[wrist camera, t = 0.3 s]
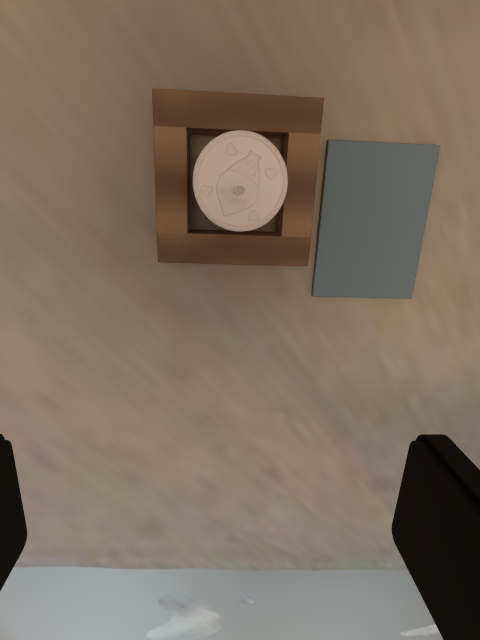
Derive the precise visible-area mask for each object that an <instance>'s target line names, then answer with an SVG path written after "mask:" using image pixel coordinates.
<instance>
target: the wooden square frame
mask: <svg viewBox="0 0 480 640" xmlns="http://www.w3.org/2000/svg"><path fill="white" fill-rule="evenodd" d="M152 95H153V125H154V155H155V185H156V215H157V245H158V262H166V263H204V264H241V265H279V266H308V260H309V249H310V239H311V228H312V218H313V207H314V197H315V186H316V176H317V165H318V155H319V144H320V134H321V123H322V113H323V102H324V98H314V97H296V96H278V95H260V94H242V93H224V92H206V91H188V90H170V89H152ZM235 130H245V131H251V132H254V133H257V134H259V135H261V136H263V137H265V138H280V139H282V145H281V156H282V158H283V160H284V162H285V166H286V169H287V176H288V186H287V193H286V196H285V199H284V202H283V204H282V206H281V208H280V209H279V211H278V212H277V221H276V232H252V231H242V232H239V231H221V230H190V134H197V135H218V136H219V135H221V134H224V133H226V132H230V131H235Z"/></svg>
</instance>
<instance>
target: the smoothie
mask: <svg viewBox="0 0 480 640" xmlns="http://www.w3.org/2000/svg"><path fill="white" fill-rule="evenodd" d="M287 186H288V176H287V169H286V166H285V162H284V160H283V158H282V156H281V154H280V152H279V151H278V149H277V148H276V147H275V146H274V145H273V144H272V143H271V142H270V141H269V140H268V139H266V138H265V137H263V136H261V135H259V134H257V133H254V132H251V131H245V130H235V131H230V132H226V133H224V134H221V135H219V136H217V137H216V138H214V139H213V140H212V141H210V142H209V143H208V144H207V145H206V146H205V148H204V149H203V150H202V152H201V153H200V155H199V157H198V159H197V161H196V164H195V167H194V171H193V189H194V194H195V198H196V200H197V203H198V205H199V207H200V209H201V210H202V211H203V213H204V214H205V215H206V216H207V218H208V219H209V220H211V221H212V222H213V223H215V224H216V225H218V226H220V227H222V228H224V229H227V230H231V231H239V232H242V231H250V230H254V229H256V228H259V227H261V226H263V225H264V224H266V223H267V222H269V221H270V220H271V219H272V218H273V217H274V216H275V215H276V214H277V212H278V211H279V209H280V208H281V206H282V204H283V202H284V199H285V196H286V193H287Z"/></svg>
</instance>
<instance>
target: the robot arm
mask: <svg viewBox="0 0 480 640" xmlns="http://www.w3.org/2000/svg"><path fill="white" fill-rule="evenodd" d="M392 535H393V539H394V542H395V544H396V546H397V548H398V550H399V552H400V554H401V556H402V558H403V560H404V562H405V564H406V566H407V568H408V570H409V572H410V574H411V576H412V578H413V580H414V582H415V584H416V586H417V588H418V590H419V592H420V594H421V596H422V598H423V600H424V602H425V604H426V606H427V608H428V610H429V612H430V614H431V616H432V618H433V620H434V622H435V624H436V626H437V628H438V630H439V632H440V633H441V635H442V637H443V639H444V640H480V470H479V469H478V468H477V467H476V466H475V465H474V464H473V463H472V462H471V460H470V459H469V458H468V457H467V456H466V455H465V454H464V453H463V452H462V451H461V450H460V449H459V448H458V447H457V446H456V445H455V444H454V442H453V441H452V440H451V439H450V438H449V437H447V436H446V435H419V436H418V437H417V439H416V441H412V442H411V443H410V446H409V450H408V455H407V459H406V464H405V469H404V473H403V478H402V482H401V487H400V491H399V496H398V500H397V505H396V509H395V514H394V519H393V523H392ZM26 539H27V528H26V522H25V516H24V511H23V505H22V500H21V494H20V488H19V483H18V477H17V472H16V466H15V460H14V455H13V449H12V445H11V442H10V441H8V440H5V439H4V437H3V435H2V434H0V591H1V589H2V587H3V585H4V583H5V581H6V580H7V578H8V576H9V574H10V572H11V570H12V569H13V567H14V565H15V563H16V561H17V560H18V558H19V556H20V554H21V552H22V550H23V548H24V546H25V543H26Z"/></svg>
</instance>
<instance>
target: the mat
mask: <svg viewBox="0 0 480 640" xmlns="http://www.w3.org/2000/svg"><path fill="white" fill-rule="evenodd" d="M439 150H440V145H424V144H404V143H383V142H363V141H342V140H328V141H327V146H326V156H325V166H324V176H323V186H322V196H321V205H320V215H319V225H318V235H317V245H316V255H315V265H314V275H313V285H312V296H313V297H359V298H405V299H411V298H412V293H413V288H414V282H415V277H416V272H417V267H418V261H419V256H420V251H421V245H422V240H423V235H424V230H425V224H426V219H427V214H428V208H429V203H430V198H431V193H432V187H433V182H434V177H435V172H436V166H437V161H438V156H439Z"/></svg>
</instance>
